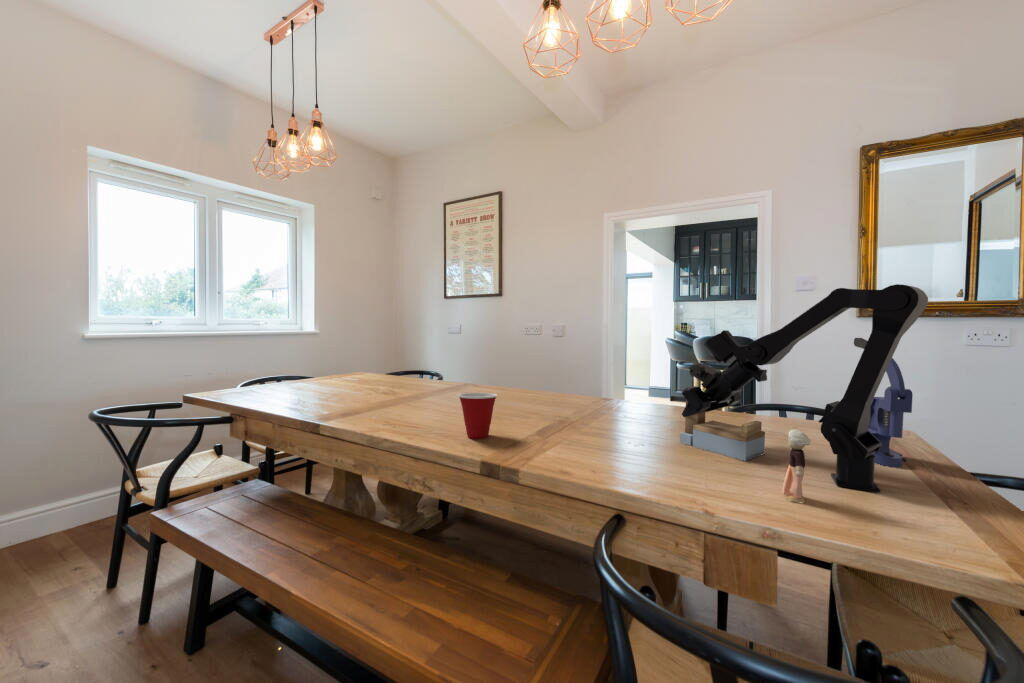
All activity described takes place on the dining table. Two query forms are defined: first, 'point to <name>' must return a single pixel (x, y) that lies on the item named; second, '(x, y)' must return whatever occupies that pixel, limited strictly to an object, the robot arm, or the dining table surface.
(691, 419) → the brown wooden block
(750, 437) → the lid
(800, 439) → the grandmother figurine
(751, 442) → the grey storage box
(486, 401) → the plastic cup
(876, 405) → the hand press
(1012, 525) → the dining table surface
